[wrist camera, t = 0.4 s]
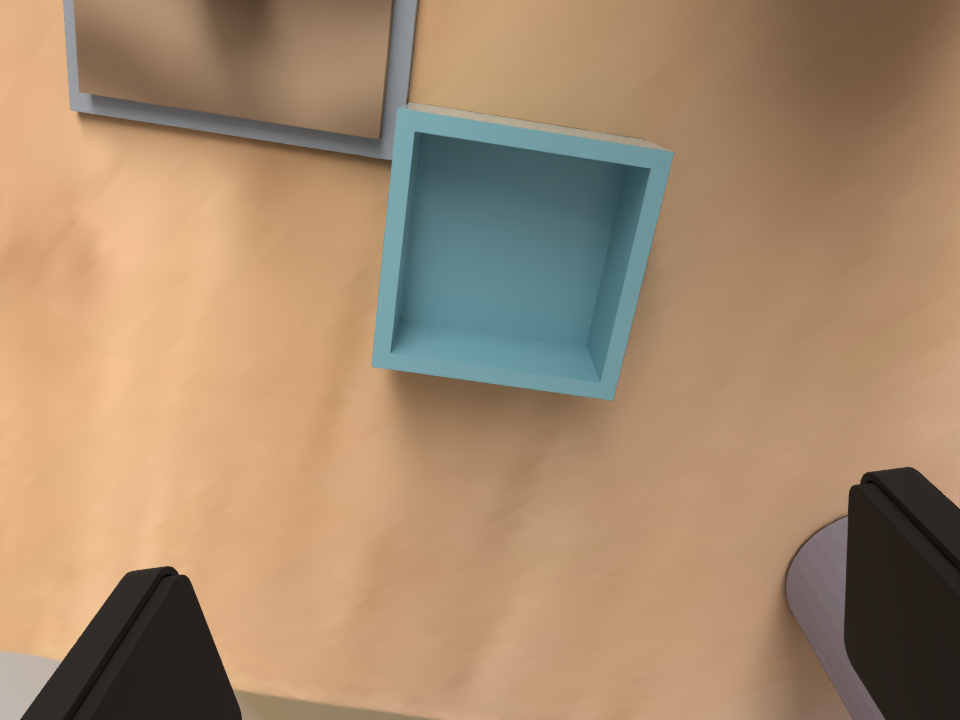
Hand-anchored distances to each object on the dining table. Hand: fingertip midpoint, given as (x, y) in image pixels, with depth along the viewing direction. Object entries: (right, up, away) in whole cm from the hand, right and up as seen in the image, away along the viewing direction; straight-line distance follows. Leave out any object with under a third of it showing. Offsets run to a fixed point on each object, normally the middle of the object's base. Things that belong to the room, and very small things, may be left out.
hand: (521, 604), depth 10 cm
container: (+24, -10, +35) cm, 44 cm away
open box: (+1, +10, +27) cm, 29 cm away
